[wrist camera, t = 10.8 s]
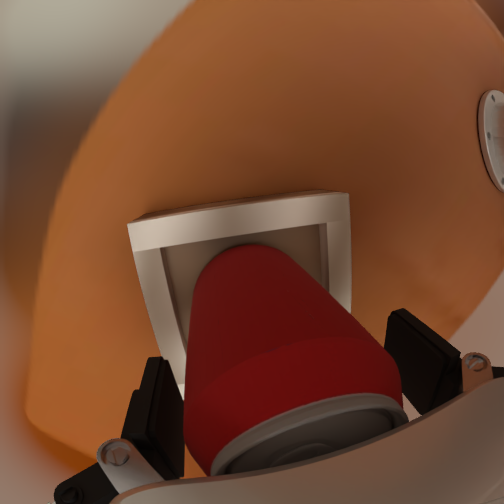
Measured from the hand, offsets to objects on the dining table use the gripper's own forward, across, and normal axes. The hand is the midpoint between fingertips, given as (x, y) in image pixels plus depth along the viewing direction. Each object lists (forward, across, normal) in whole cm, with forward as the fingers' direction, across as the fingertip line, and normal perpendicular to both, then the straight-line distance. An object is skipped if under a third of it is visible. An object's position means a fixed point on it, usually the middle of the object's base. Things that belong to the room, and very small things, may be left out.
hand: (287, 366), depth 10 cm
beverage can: (+7, +1, 0) cm, 7 cm away
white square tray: (+10, +1, 0) cm, 10 cm away
